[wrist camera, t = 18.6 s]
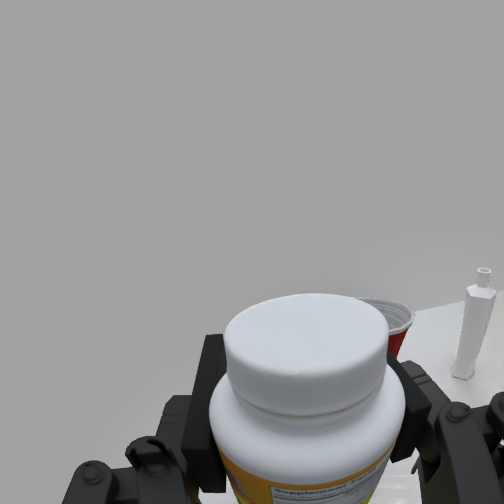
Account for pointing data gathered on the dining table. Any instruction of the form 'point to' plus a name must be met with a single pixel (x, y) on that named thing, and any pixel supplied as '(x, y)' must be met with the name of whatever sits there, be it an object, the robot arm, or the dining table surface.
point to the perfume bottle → (474, 323)
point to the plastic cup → (393, 320)
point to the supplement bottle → (307, 401)
